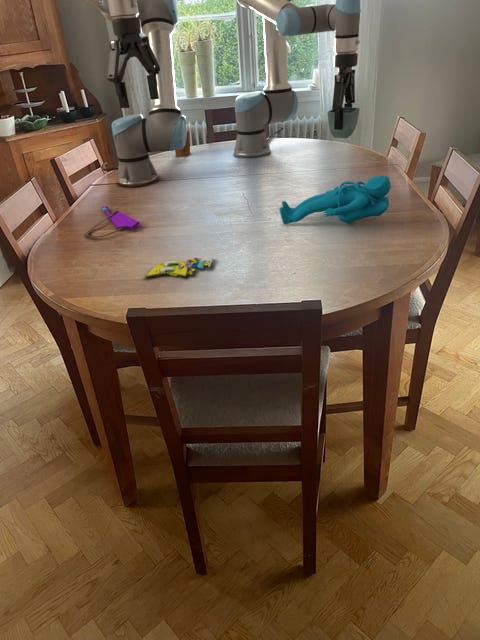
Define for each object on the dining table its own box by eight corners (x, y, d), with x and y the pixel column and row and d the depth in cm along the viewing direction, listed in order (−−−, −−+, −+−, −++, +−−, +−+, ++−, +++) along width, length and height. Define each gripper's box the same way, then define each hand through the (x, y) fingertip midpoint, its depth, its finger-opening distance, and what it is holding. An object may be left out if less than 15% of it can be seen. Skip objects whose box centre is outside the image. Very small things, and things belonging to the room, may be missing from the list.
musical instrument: (112, 245, 135) (156, 212, 147) (109, 239, 134) (154, 206, 146) (58, 238, 148) (103, 208, 160) (55, 232, 147) (101, 202, 159)
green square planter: (350, 140, 164) (352, 112, 160) (326, 139, 168) (326, 111, 163) (358, 134, 171) (360, 107, 166) (334, 133, 175) (335, 106, 170)
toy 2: (283, 190, 142) (387, 164, 132) (292, 223, 147) (393, 200, 137) (274, 211, 129) (390, 183, 118) (285, 246, 134) (396, 223, 124)
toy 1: (206, 274, 112) (144, 275, 114) (207, 278, 112) (145, 278, 115) (214, 255, 120) (156, 256, 123) (214, 258, 121) (157, 259, 123)
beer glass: (168, 157, 212) (164, 128, 205) (178, 151, 219) (174, 123, 212) (187, 157, 208) (183, 128, 202) (197, 151, 216) (193, 123, 209)
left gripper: (103, 19, 118) (121, 112, 129) (164, 14, 135) (175, 95, 147) (81, 21, 121) (101, 111, 133) (143, 16, 139) (156, 95, 150)
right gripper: (346, 56, 146) (342, 134, 158) (367, 48, 161) (362, 120, 174) (322, 57, 149) (321, 133, 162) (345, 49, 164) (342, 119, 177)
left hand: (140, 103), depth 140 cm, fingers open, 13 cm apart
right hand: (342, 126), depth 168 cm, fingers closed on green square planter, 9 cm apart
